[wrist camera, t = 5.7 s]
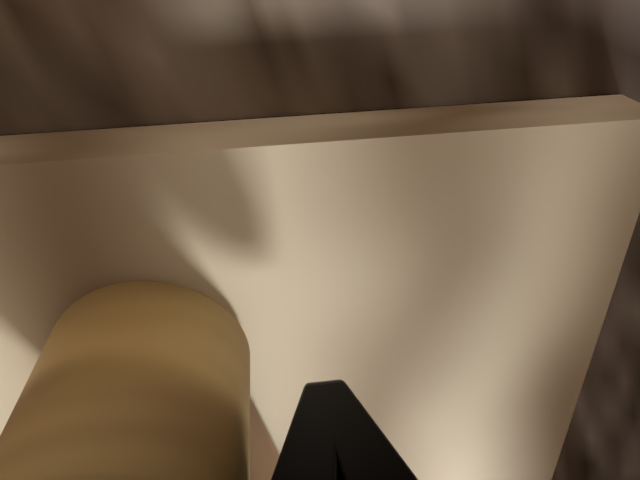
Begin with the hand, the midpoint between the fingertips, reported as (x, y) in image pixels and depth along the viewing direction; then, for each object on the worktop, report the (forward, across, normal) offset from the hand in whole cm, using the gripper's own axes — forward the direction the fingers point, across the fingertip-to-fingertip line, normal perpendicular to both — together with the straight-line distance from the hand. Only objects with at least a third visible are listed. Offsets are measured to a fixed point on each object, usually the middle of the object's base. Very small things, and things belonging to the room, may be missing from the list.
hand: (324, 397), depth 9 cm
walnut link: (+2, +2, +7) cm, 8 cm away
